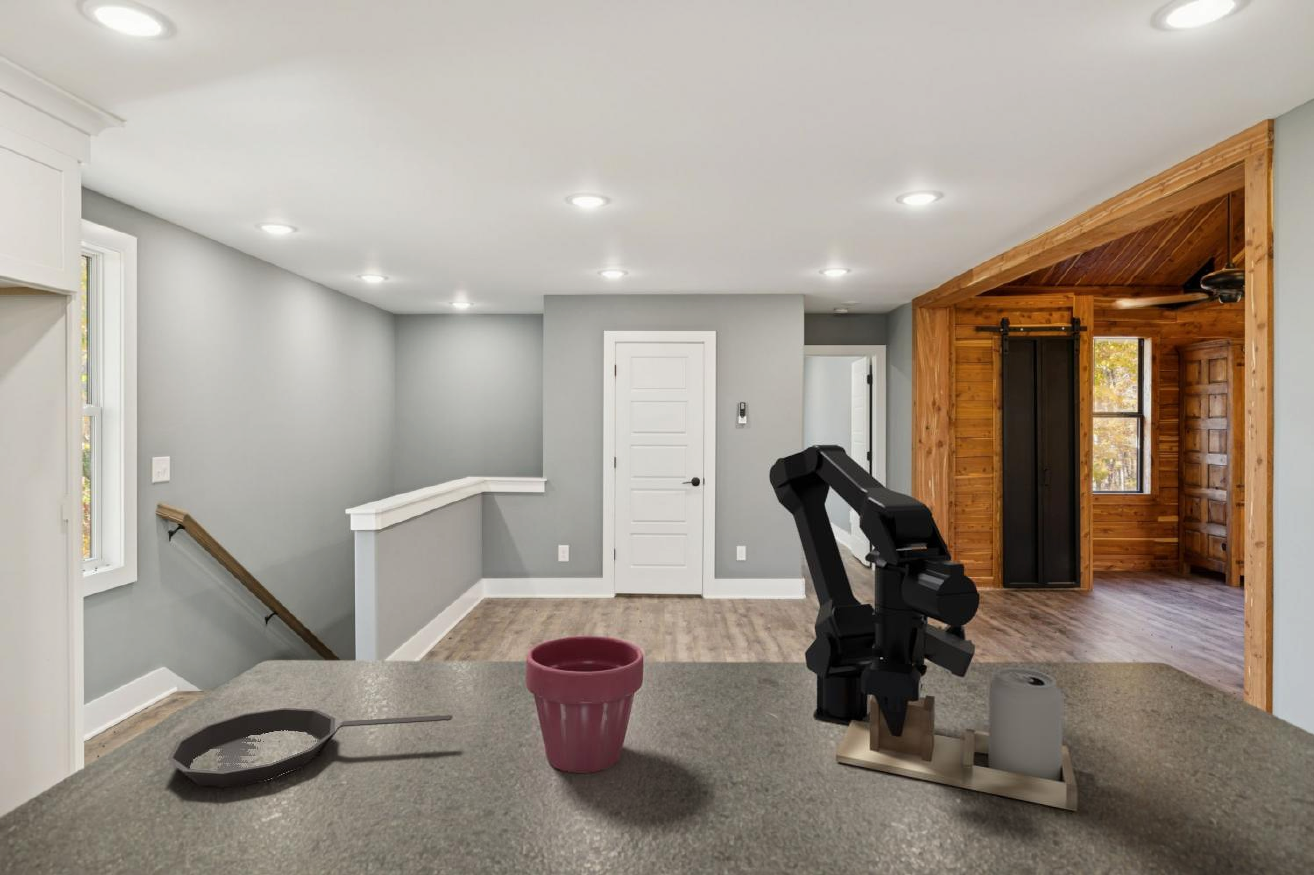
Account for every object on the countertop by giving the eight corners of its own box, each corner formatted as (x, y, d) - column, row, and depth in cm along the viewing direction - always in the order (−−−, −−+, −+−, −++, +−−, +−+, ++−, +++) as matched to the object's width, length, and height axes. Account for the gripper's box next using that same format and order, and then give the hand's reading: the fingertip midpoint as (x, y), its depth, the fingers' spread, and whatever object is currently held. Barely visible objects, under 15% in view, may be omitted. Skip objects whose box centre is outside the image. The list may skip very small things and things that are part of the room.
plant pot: (661, 743, 89) (662, 643, 89) (608, 796, 76) (608, 679, 76) (566, 722, 95) (566, 629, 95) (501, 768, 82) (501, 660, 82)
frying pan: (212, 731, 93) (212, 703, 92) (461, 717, 97) (461, 690, 97) (132, 803, 75) (132, 769, 75) (441, 781, 80) (441, 749, 80)
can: (1069, 800, 76) (1071, 690, 76) (994, 789, 78) (995, 682, 78) (1052, 767, 83) (1053, 667, 83) (983, 758, 85) (984, 661, 85)
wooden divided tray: (835, 761, 84) (836, 704, 84) (851, 725, 94) (852, 675, 94) (1077, 811, 73) (1078, 746, 73) (1066, 765, 83) (1067, 708, 83)
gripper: (968, 633, 74) (967, 779, 74) (972, 594, 91) (971, 713, 91) (860, 620, 79) (859, 757, 79) (883, 586, 96) (882, 699, 96)
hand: (898, 730), depth 86 cm, fingers closed on wooden divided tray, 3 cm apart
